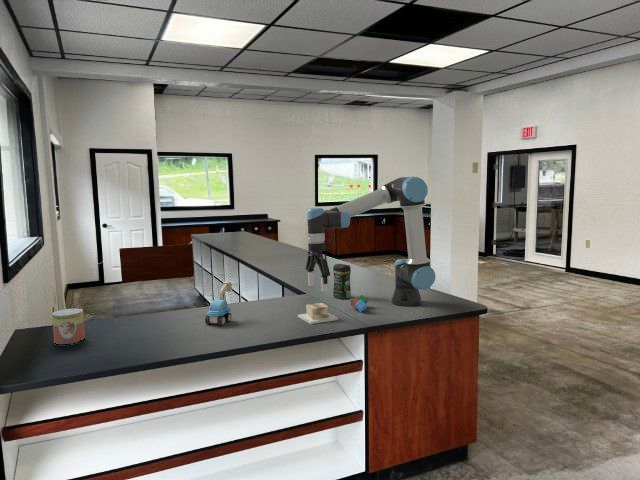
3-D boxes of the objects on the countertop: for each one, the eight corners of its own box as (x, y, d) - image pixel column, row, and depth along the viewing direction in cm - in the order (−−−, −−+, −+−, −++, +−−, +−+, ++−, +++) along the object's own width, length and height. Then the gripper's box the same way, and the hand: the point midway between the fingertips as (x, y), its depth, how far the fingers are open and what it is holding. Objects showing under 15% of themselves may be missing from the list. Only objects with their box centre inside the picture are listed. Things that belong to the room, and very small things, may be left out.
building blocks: (361, 318, 238) (360, 309, 227) (350, 307, 241) (348, 298, 231) (372, 307, 240) (372, 298, 229) (361, 296, 243) (360, 287, 233)
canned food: (52, 346, 187) (50, 316, 185) (55, 338, 197) (53, 310, 196) (84, 342, 191) (82, 313, 190) (86, 334, 201) (84, 307, 200)
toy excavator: (239, 317, 226) (238, 281, 224) (220, 327, 210) (219, 288, 208) (223, 315, 229) (222, 280, 227) (203, 325, 213) (202, 287, 211)
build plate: (324, 312, 231) (324, 310, 231) (338, 319, 218) (338, 317, 218) (297, 316, 224) (297, 314, 224) (310, 324, 212) (310, 322, 212)
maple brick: (322, 313, 226) (322, 302, 226) (328, 317, 219) (328, 306, 218) (306, 315, 223) (306, 304, 223) (312, 319, 216) (312, 308, 215)
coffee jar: (330, 297, 263) (330, 263, 260) (341, 295, 268) (341, 262, 266) (342, 300, 255) (342, 266, 253) (353, 297, 260) (353, 264, 258)
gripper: (297, 240, 227) (299, 284, 229) (321, 245, 205) (323, 294, 207) (311, 239, 230) (313, 282, 233) (337, 244, 208) (338, 292, 210)
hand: (317, 288), depth 220 cm, fingers open, 13 cm apart
